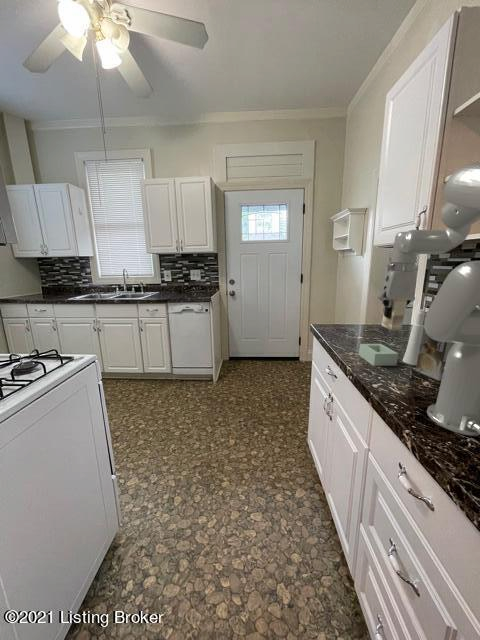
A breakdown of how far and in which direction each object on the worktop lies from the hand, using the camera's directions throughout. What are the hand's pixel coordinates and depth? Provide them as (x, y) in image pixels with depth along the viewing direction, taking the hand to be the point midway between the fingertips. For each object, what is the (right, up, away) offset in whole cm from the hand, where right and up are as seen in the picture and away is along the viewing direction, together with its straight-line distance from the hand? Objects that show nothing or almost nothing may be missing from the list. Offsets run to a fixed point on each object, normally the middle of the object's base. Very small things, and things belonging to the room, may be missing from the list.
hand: (393, 316), depth 100 cm
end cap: (-1, -18, +10) cm, 21 cm away
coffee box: (+13, -22, -2) cm, 25 cm away
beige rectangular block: (0, -4, +1) cm, 4 cm away
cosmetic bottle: (+12, -19, +9) cm, 24 cm away
